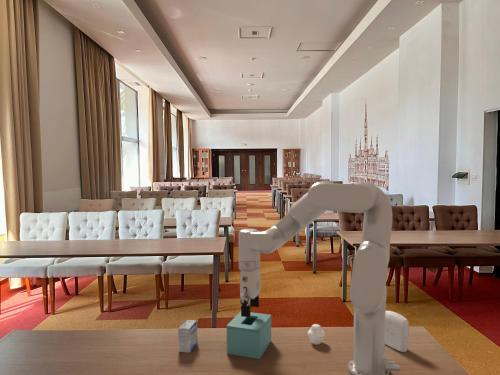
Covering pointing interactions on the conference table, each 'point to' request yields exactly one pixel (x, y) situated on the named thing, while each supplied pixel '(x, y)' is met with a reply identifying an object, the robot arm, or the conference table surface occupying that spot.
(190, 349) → the medicine box
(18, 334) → the conference table surface
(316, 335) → the white carved egg
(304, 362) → the conference table surface
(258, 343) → the teal slotted box
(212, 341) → the conference table surface
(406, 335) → the photo printer
